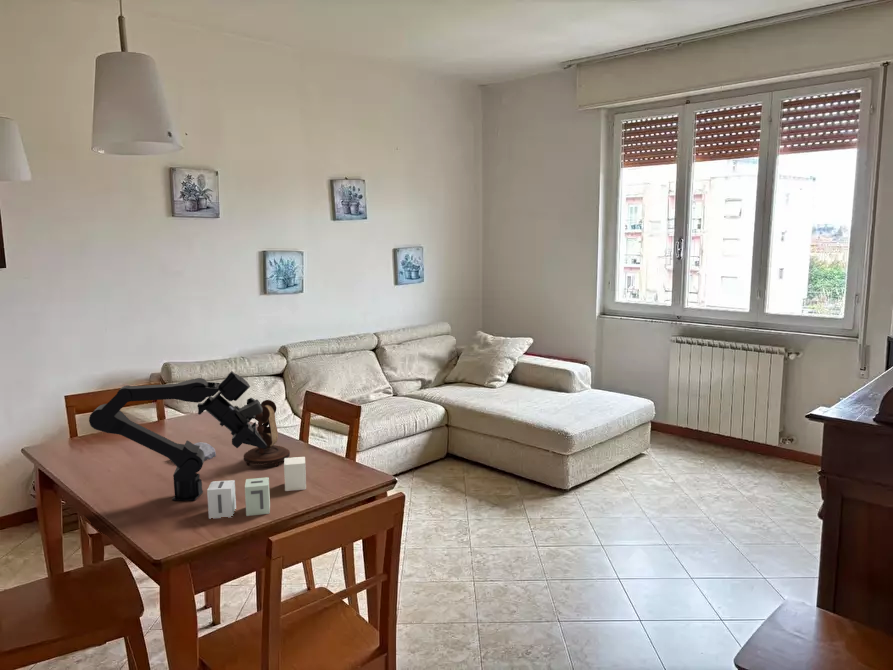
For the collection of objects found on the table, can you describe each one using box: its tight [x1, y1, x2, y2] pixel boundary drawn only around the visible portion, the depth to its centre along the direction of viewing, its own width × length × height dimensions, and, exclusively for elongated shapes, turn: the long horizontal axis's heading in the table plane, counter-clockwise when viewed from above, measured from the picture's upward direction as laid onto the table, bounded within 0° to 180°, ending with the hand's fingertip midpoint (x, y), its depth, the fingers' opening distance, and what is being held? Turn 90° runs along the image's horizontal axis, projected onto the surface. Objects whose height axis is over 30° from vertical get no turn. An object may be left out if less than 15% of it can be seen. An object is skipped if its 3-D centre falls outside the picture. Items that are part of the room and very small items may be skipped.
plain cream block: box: [283, 456, 307, 492], centre depth 191 cm, size 6×6×8 cm
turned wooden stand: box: [243, 399, 291, 467], centre depth 212 cm, size 15×15×20 cm
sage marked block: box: [244, 476, 271, 517], centre depth 174 cm, size 6×6×8 cm
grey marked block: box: [206, 479, 237, 520], centre depth 172 cm, size 6×6×8 cm
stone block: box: [193, 441, 217, 461], centre depth 216 cm, size 12×5×10 cm
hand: (265, 447), depth 187 cm, fingers closed
